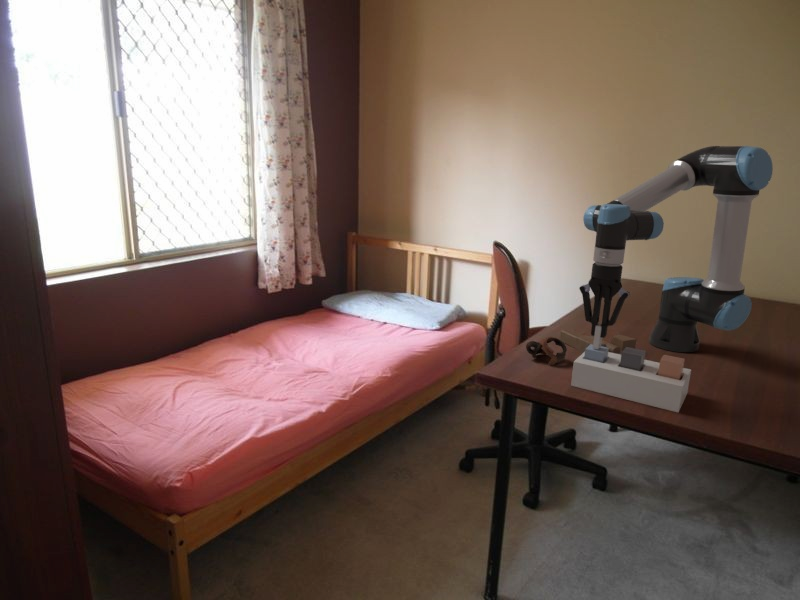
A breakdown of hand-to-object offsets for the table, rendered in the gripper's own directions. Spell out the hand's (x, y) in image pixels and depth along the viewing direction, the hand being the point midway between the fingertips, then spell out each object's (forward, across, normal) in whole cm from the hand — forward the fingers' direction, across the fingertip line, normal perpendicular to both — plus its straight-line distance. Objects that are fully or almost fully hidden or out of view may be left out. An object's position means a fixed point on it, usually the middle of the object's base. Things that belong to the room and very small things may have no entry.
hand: (596, 347), depth 157 cm
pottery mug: (+10, -17, +8) cm, 21 cm away
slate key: (+5, 0, 0) cm, 5 cm away
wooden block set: (+11, -7, +30) cm, 33 cm away
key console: (+10, +10, 0) cm, 14 cm away
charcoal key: (+4, +10, 0) cm, 10 cm away
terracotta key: (+4, +19, 0) cm, 19 cm away
